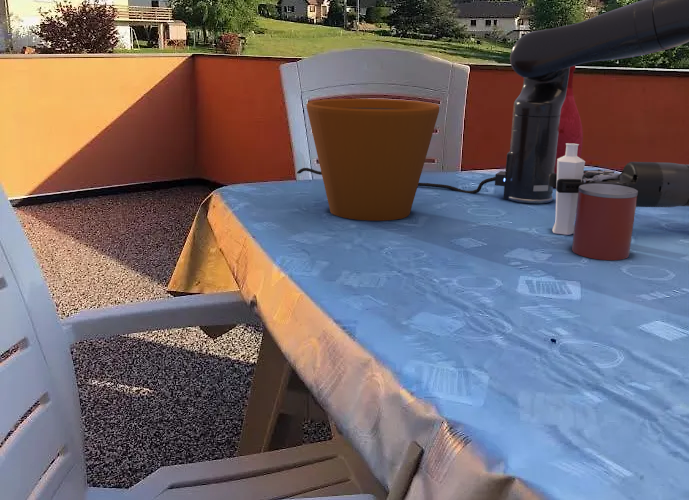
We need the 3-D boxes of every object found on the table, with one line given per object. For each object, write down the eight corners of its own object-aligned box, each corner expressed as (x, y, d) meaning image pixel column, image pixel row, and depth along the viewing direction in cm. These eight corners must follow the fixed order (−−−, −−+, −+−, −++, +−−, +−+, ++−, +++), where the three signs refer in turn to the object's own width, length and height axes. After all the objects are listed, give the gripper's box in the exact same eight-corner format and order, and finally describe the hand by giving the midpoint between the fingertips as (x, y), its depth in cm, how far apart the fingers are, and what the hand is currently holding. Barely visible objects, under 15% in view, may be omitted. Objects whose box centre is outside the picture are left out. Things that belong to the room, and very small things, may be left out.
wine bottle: (580, 183, 165) (595, 49, 157) (574, 190, 157) (590, 49, 148) (537, 179, 169) (549, 48, 161) (529, 186, 160) (542, 48, 152)
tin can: (567, 255, 108) (575, 190, 105) (576, 242, 115) (583, 181, 112) (626, 263, 104) (635, 196, 101) (631, 249, 111) (639, 186, 109)
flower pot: (288, 221, 125) (287, 105, 119) (327, 195, 147) (328, 96, 141) (421, 232, 119) (428, 111, 113) (441, 203, 141) (447, 101, 135)
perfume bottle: (579, 236, 118) (588, 146, 114) (551, 234, 119) (560, 145, 115) (576, 229, 123) (585, 142, 119) (549, 228, 124) (558, 141, 120)
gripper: (641, 156, 124) (544, 154, 124) (677, 169, 111) (567, 167, 111) (635, 197, 126) (540, 195, 127) (670, 216, 113) (562, 214, 113)
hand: (553, 182), depth 119 cm, fingers closed on perfume bottle, 4 cm apart
